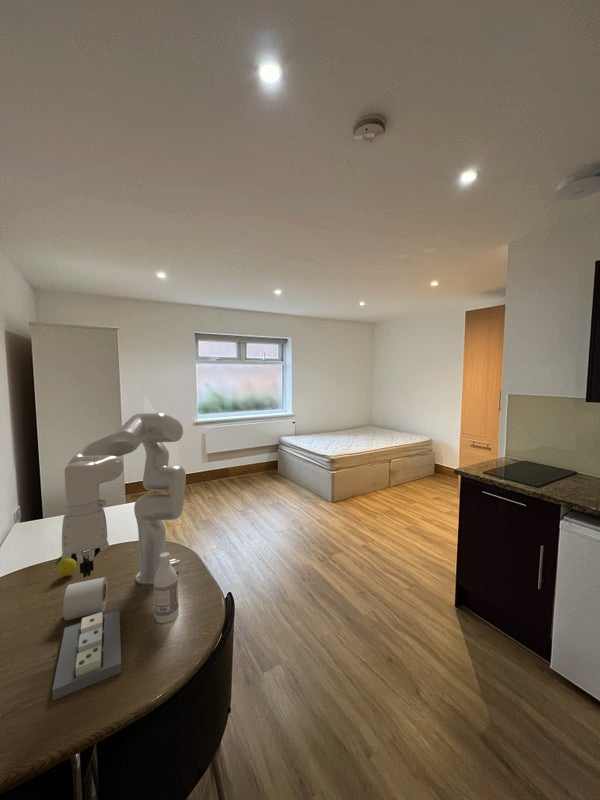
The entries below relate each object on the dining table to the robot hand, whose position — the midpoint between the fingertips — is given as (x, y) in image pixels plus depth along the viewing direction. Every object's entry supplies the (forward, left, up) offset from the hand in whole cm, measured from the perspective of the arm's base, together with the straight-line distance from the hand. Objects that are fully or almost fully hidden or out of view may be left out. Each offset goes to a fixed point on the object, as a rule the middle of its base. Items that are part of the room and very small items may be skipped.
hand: (87, 574), depth 87 cm
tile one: (0, -8, -21) cm, 22 cm away
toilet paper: (+2, -20, -22) cm, 30 cm away
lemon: (+10, -49, -22) cm, 55 cm away
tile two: (0, 0, -21) cm, 21 cm away
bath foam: (-20, -4, -22) cm, 30 cm away
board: (0, 0, -22) cm, 22 cm away
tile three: (0, +7, -21) cm, 22 cm away
